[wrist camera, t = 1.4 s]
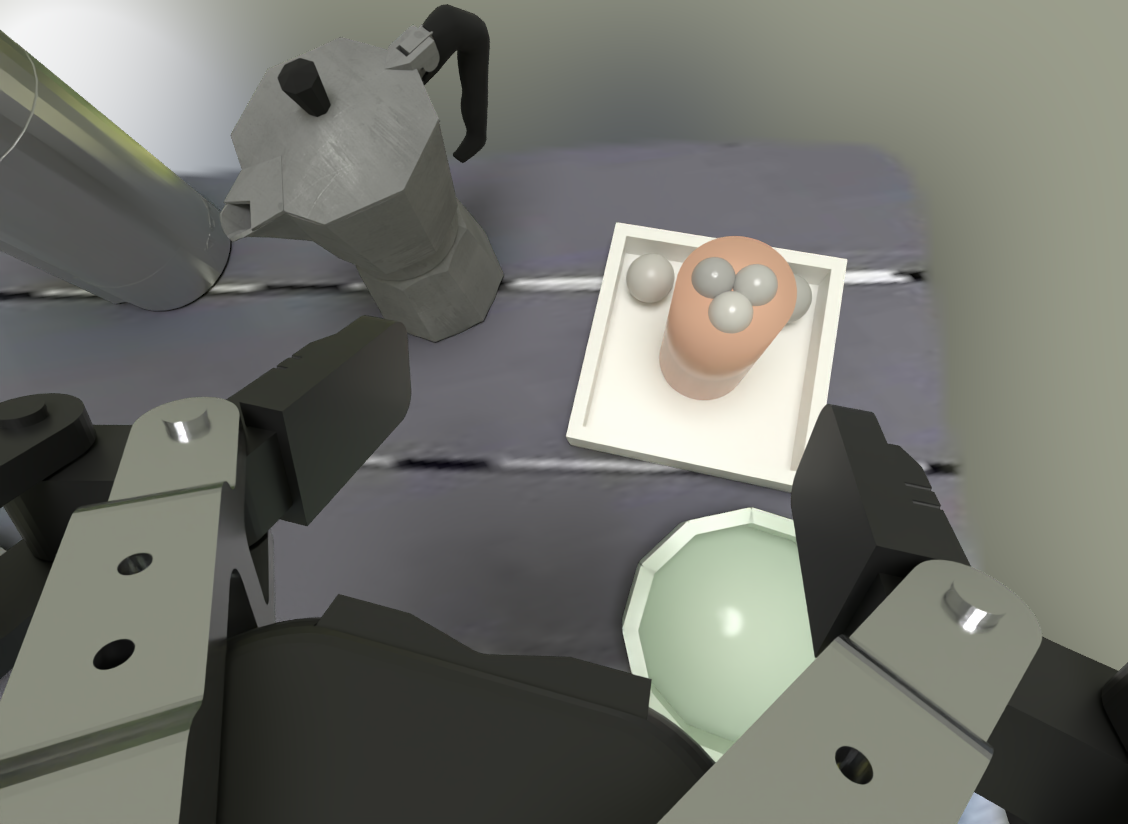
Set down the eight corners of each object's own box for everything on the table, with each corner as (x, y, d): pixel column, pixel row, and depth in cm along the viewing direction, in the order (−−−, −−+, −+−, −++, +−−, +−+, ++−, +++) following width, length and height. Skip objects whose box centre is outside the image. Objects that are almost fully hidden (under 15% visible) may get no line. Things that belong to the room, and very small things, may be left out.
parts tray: (570, 444, 36) (564, 434, 32) (616, 246, 38) (616, 215, 35) (796, 494, 34) (819, 488, 30) (828, 281, 36) (852, 252, 33)
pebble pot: (671, 408, 35) (694, 352, 24) (650, 328, 36) (664, 241, 25) (757, 389, 35) (819, 324, 24) (733, 309, 36) (782, 213, 25)
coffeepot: (414, 392, 37) (237, 264, 20) (326, 303, 39) (95, 117, 22) (575, 233, 39) (541, -15, 21) (482, 156, 41) (381, -129, 23)
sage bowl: (655, 774, 31) (660, 803, 28) (603, 539, 34) (602, 539, 31) (889, 728, 31) (923, 752, 27) (816, 493, 34) (838, 488, 30)
